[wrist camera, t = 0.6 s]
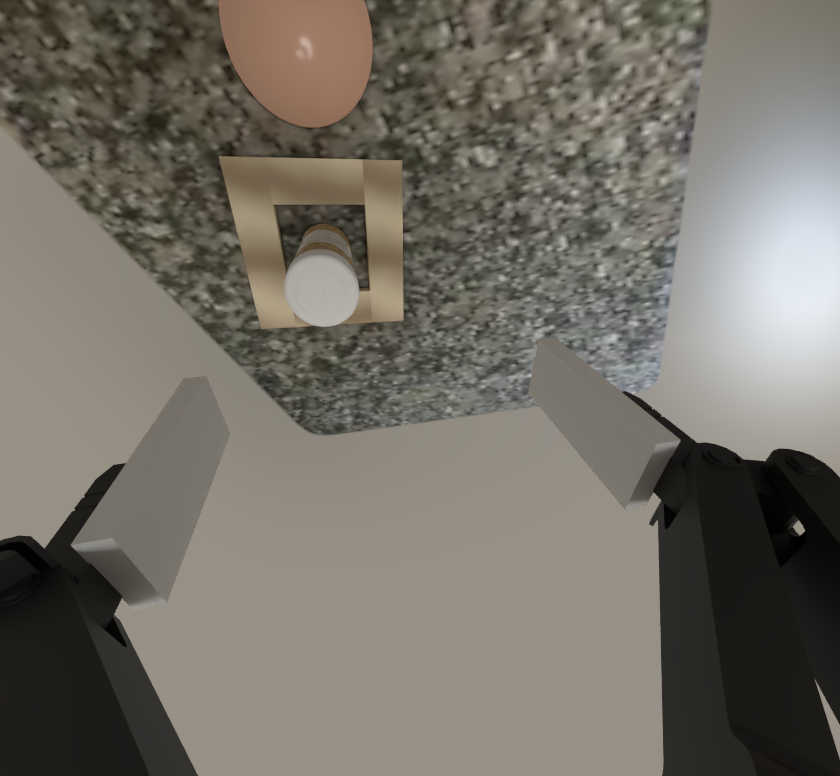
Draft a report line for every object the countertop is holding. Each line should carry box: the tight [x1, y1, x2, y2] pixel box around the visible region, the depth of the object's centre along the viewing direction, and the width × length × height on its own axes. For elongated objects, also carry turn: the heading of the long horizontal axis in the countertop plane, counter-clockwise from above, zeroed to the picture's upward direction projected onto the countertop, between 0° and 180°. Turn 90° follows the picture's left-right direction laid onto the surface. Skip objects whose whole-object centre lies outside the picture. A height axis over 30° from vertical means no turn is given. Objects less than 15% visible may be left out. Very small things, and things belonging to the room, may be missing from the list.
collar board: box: [219, 156, 403, 329], centre depth 32 cm, size 14×14×1 cm
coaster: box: [219, 0, 373, 128], centre depth 24 cm, size 10×10×1 cm
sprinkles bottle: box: [284, 223, 359, 327], centre depth 27 cm, size 5×5×13 cm
